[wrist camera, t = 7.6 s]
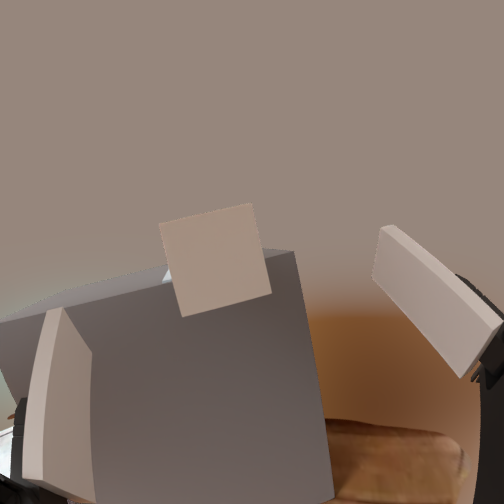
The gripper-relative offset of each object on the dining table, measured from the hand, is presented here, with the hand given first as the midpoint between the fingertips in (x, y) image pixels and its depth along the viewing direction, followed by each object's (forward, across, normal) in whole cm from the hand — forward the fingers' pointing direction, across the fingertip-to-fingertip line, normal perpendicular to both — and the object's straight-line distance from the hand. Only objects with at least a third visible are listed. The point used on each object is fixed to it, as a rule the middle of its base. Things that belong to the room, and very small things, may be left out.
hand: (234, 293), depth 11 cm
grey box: (+2, -7, -34) cm, 35 cm away
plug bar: (+11, -1, -6) cm, 12 cm away
